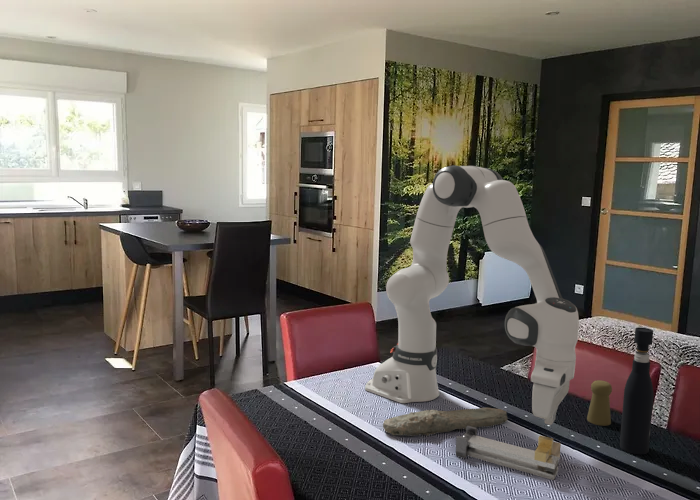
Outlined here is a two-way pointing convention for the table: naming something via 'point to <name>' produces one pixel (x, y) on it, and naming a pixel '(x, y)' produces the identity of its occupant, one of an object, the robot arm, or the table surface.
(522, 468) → the base
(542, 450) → the tan l-shaped block
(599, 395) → the cork
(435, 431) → the elongated rock
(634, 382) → the wine bottle
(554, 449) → the tan wooden block
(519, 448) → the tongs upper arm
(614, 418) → the table surface
